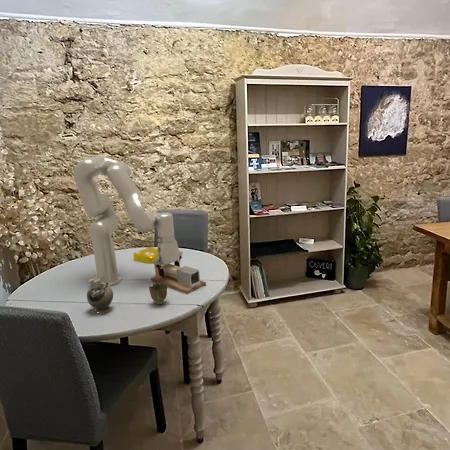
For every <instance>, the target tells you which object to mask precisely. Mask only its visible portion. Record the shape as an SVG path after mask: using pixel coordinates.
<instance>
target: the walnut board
mask: <svg viewBox="0 0 450 450" xmlns="http://www.w3.org/2000/svg"><path fill="white" fill-rule="evenodd" d="M150 281H151V282H152V283H154V284H156V283H158V284H160V283H161V284H162V283H165V284H167V288H169V289H171V290H174V291H177V292H180V293H182V294H185V295H189V294H190V293H192V292H194V291H197V290H199V289H201V288H203V287H205V286H207V282H206V281H203V280H201V279H200V285H197V286H195V287H193V288H188V287H185V286H183V285H180V284H178V282H177V278H174V277H171V276H168V275H167V276H165V277H162V278H159V277H156V275H155V276H152V277H151V278H150Z"/></svg>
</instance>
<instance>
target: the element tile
mask: <svg viewBox="0 0 450 450" xmlns="http://www.w3.org/2000/svg"><path fill="white" fill-rule="evenodd" d="M157 248H158V247H154V246H148V247H146V248H144V249H141V250H139V251H136V252H133V255H132V256H133V261H134V262H139V263H144V264H147V265H148V264H149V265H152V264H153V265H154V263H153V261H154V260H155V259H156V258H157V257H158V256H157Z"/></svg>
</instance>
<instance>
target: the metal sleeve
mask: <svg viewBox="0 0 450 450" xmlns="http://www.w3.org/2000/svg"><path fill="white" fill-rule="evenodd" d="M176 271H177V282H178V284H180V285H183V286H185V287H188V288H193V287H195V286H197V285H200V280H201V276H200V269H198V268H193V267H191V266H187V265H185V266H182V268H179V269H177V270H176Z"/></svg>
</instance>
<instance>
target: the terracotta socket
mask: <svg viewBox="0 0 450 450" xmlns="http://www.w3.org/2000/svg"><path fill="white" fill-rule="evenodd" d="M157 263H158V264H159V262H157ZM169 264H171V263H169ZM153 265H154V264H153ZM160 266H161V265H160ZM154 274H155V276H156V277H159V278H162V277H161V276H159V271H158V268H157V267H156V266H155V265H154ZM165 276H167V275H165V274H164V277H165Z"/></svg>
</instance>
